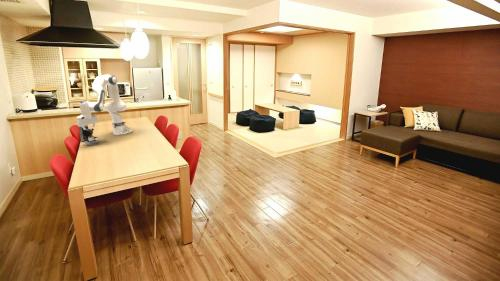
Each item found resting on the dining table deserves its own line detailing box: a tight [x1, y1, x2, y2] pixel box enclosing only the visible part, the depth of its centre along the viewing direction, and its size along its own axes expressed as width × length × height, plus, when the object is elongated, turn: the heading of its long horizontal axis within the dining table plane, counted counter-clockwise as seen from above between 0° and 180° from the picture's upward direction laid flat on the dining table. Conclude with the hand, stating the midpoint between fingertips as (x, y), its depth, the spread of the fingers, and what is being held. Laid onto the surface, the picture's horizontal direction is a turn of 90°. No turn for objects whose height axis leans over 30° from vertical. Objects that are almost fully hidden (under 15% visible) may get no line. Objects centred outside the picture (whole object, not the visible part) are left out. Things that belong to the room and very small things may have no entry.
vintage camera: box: [78, 125, 99, 142], centre depth 298 cm, size 10×16×20 cm, turn 78°
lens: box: [88, 134, 95, 142], centre depth 288 cm, size 5×5×8 cm
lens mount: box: [84, 138, 99, 147], centre depth 289 cm, size 9×9×4 cm
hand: (89, 128), depth 285 cm, fingers open, 8 cm apart
